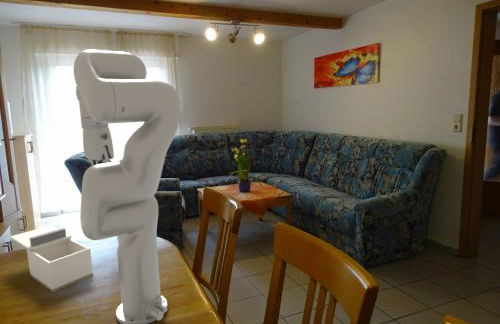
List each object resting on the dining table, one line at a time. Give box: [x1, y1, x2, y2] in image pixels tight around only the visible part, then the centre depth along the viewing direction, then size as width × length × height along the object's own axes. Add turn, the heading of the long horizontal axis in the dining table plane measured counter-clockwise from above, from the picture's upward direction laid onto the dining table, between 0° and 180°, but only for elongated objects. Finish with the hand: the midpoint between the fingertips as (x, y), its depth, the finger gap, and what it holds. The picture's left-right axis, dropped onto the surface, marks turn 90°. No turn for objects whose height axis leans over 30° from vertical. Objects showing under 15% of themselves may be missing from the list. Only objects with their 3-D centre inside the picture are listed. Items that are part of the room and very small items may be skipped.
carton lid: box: [10, 225, 72, 251], centre depth 113 cm, size 16×12×3 cm
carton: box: [26, 238, 94, 293], centre depth 106 cm, size 16×12×9 cm
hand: (100, 181), depth 107 cm, fingers closed
